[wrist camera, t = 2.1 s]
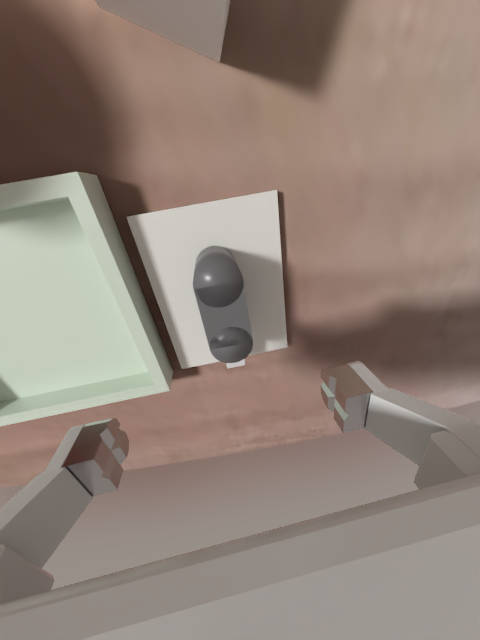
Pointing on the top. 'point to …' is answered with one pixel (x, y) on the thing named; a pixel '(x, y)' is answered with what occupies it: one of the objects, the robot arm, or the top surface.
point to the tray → (70, 304)
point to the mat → (180, 257)
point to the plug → (223, 305)
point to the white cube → (178, 21)
